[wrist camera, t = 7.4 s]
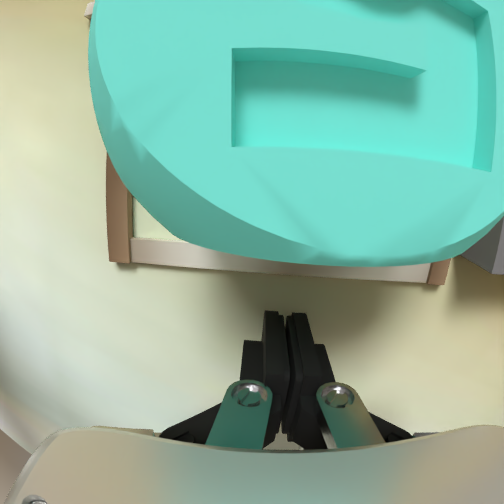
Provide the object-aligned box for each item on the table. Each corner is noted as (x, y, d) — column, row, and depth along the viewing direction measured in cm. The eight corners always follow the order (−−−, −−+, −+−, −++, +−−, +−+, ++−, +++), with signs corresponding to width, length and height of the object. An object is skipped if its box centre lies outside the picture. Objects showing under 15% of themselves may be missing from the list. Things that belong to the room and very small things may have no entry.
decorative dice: (197, 198, 11) (81, 269, 4) (200, 15, 9) (133, -114, 1) (394, 202, 11) (544, 267, 3) (387, 26, 9) (491, -64, 1)
